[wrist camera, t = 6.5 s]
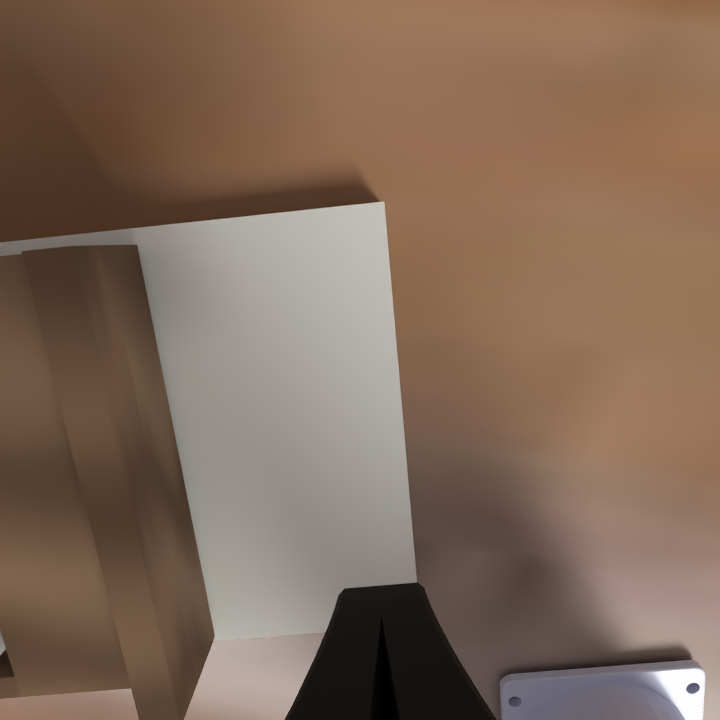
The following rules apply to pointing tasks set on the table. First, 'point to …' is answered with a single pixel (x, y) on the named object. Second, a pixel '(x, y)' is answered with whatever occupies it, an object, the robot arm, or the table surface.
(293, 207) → the table surface
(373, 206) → the board
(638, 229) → the table surface
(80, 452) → the brown rectangular box
